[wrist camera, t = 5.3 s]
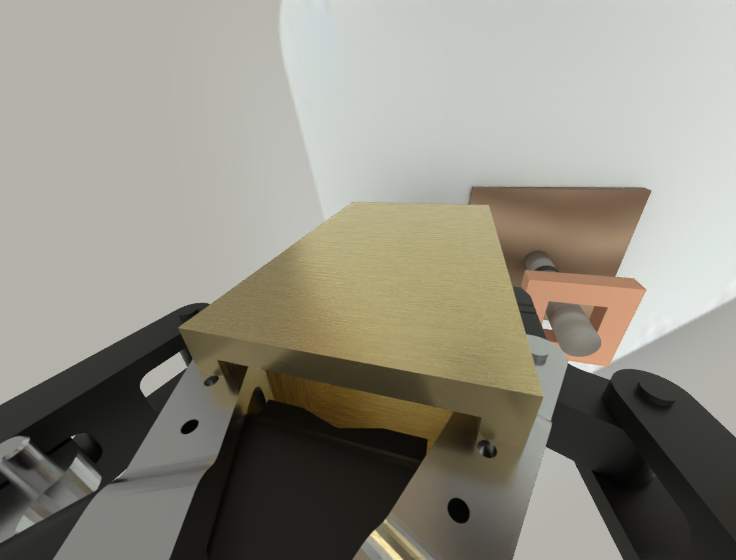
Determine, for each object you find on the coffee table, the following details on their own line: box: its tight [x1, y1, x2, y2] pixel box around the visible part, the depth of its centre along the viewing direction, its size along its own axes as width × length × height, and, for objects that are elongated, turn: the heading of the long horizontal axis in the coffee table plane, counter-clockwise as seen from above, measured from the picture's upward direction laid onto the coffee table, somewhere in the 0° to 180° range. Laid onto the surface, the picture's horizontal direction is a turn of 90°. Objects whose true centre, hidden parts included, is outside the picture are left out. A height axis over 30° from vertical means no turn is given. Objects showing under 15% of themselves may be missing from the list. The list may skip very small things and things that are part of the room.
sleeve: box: [178, 202, 544, 453], centre depth 9 cm, size 6×6×9 cm
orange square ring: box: [521, 270, 646, 367], centre depth 20 cm, size 6×6×2 cm
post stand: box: [470, 187, 651, 357], centre depth 24 cm, size 14×14×14 cm
